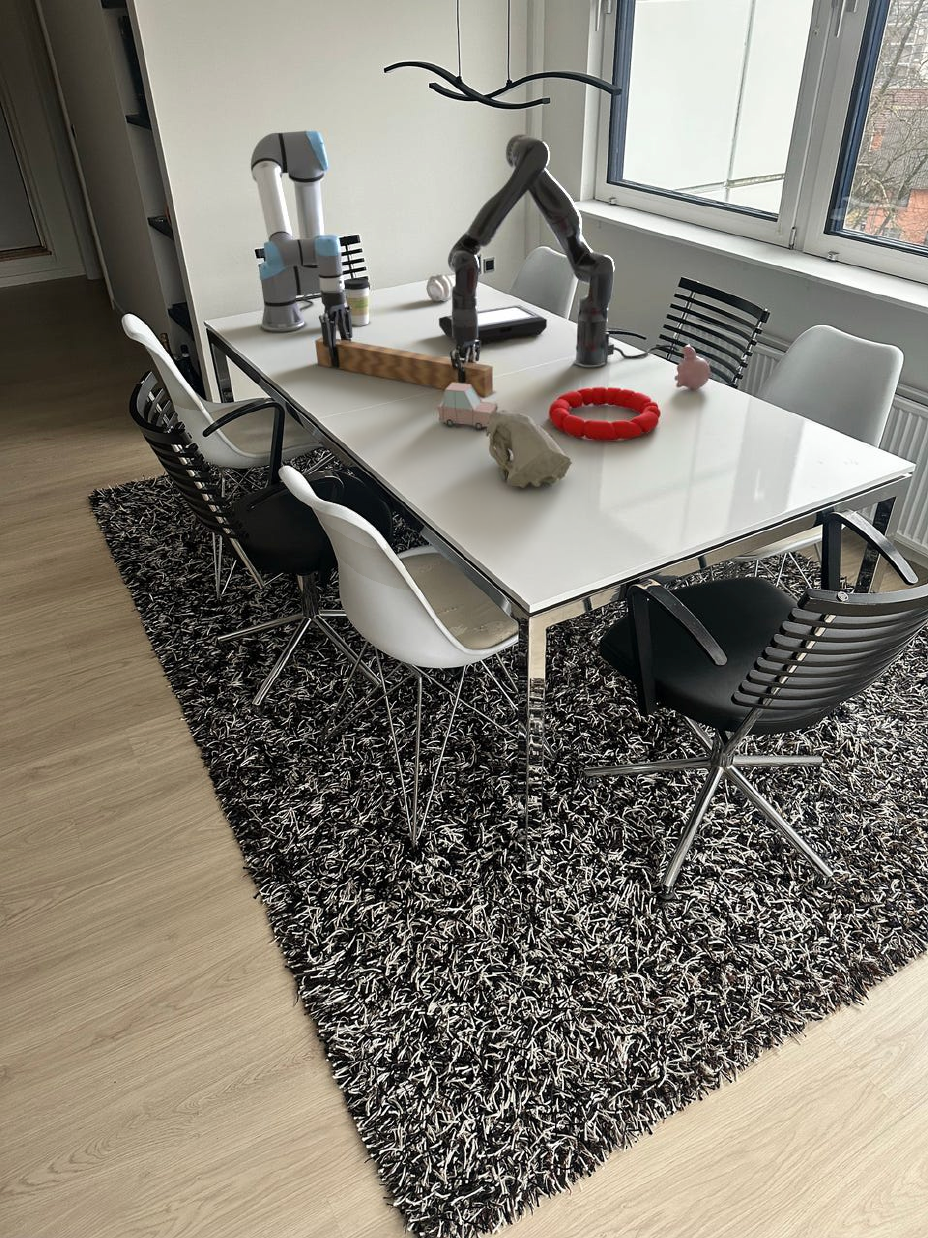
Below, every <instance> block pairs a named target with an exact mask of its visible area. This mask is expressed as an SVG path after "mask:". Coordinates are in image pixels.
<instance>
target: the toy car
mask: <svg viewBox="0 0 928 1238" xmlns="http://www.w3.org/2000/svg"><path fill="white" fill-rule="evenodd" d="M498 409H499V404H498V403H497V402H490V401H489V402H487V401H483V397H482V396H478V394H477V393H476V391H475V390H474V389H473V387H472V386H471V385H470V384H460V383H451V384H450V385H449V386H448V387H447V388H446V389H444V394H443V399H442V403H440V404H439V405H438V406H437V413H438V421H439V422H443V423H446V425H447V426H448V427H452V426H454V425H455V424H461V425H469V426H473V427H475V429H476V430H479V431H480V430H481V429H483V428H485V427H486V428H487V423H488V422H490V414H491V413H492V412H496V411H499V410H498Z"/></svg>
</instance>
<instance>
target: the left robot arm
mask: <svg viewBox="0 0 928 1238" xmlns="http://www.w3.org/2000/svg"><path fill="white" fill-rule="evenodd" d="M328 170H329V162H328V158H327V152H326V147H325V145H324V142H323V138H322V134H321V133H320V132H319V131H317V130H302V131H300V130H299V131H286V132H272V133H269V134H267V135H265V136H264V137H262V138H261V139H260V140H259V141H258V143H257V144H256V146H255V147H254V150H253V151H252V155H251V158H250V171H251V176H252V179H253V180H254V182H256V185H257V190H258V195H259V199H260V205H261V211H262V214H263V220H264V225H265V230H266V234H267V240H268V241H265V242H264V243H263V251H264V257H265V260H264V261H263V262H261V263H260V265H259V266H258V270H259V280H260V285H261V286H260V287H261V292H262V299H263V313H262V319H261V326H262V330H264V331H265V332H271V333H286V332H293V331H296V330H297V331H298V330H300V329H302V328H304V326H305V319H304V317H303V314H302V312H301V311H303V310H305V309H307V308H310V307H312V306H313V305H314V302H313V301H312V300H309V299H306V297H307V296H309V295H312V296H315V295H318V294H320V298H321V304H322V306H324V311H323V314H319V316H318V321H319V322H320V328H321V338H322V337H323V345H324V346H325V347H328V348H329V354H330V357H331V364H332V367H331V368H333V367H336V368H335V369H338V368H339V367H340V365H339V356H338V347H336V339H337V329H338V333H339V336H340V339H341V340H346V341H352V338H353V325H352V323H351V307H350V306H347V305H345V303H347V301H346V296H345V295H346V294H345V290H344V281H345V280H344V271H343V270H344V269H343V258H342V246H341V242H340V238H339V237H338V236H337V235H334V234H333V235H332V234H325V228H324V216H323V215H324V214H323V203H322V202H323V201H322V190H321V182H322V180H323V179H324V178H325V172H326V171H328ZM283 174H288V179H289V180H290V181H291V182H292V183H293V186H294V196H295V206H296V215H297V224H298V226H297V227H298V236H299V239H298V238H297V239H296V238H295V239H294V238H293V232H292V227H291V223H290V218H289V213H288V208H287V203H286V198H285V193H284V189H283V184H282V177H283ZM297 296H302V298H301V300H302V301H303V302H305V303H309V304H307V305H304V306H302V307H299V306H298V305H299V304H298V303H297Z"/></svg>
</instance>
